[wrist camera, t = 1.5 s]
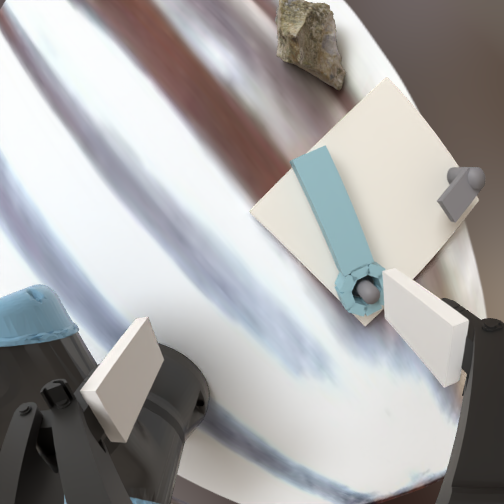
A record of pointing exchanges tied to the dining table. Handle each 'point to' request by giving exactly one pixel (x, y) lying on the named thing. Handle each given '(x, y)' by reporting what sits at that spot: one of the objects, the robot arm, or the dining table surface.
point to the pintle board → (379, 192)
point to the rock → (309, 39)
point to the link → (339, 228)
